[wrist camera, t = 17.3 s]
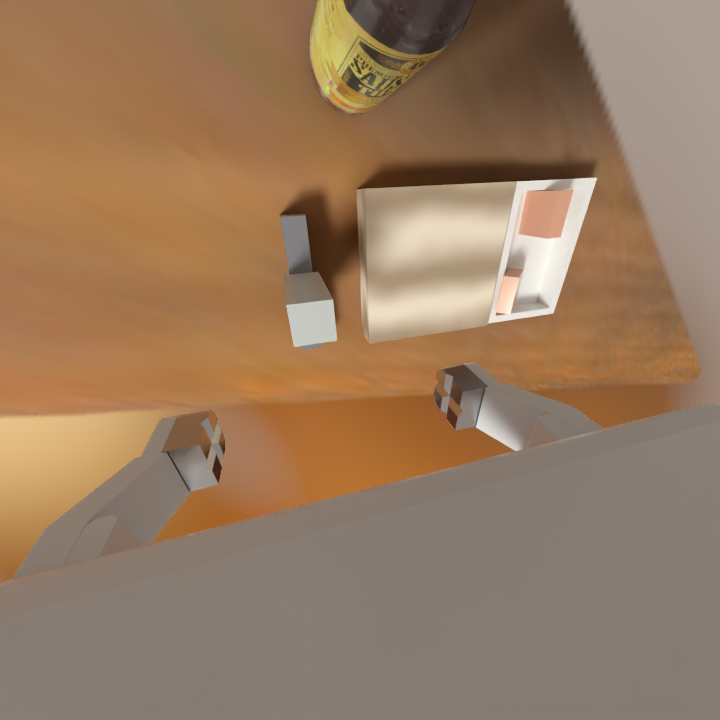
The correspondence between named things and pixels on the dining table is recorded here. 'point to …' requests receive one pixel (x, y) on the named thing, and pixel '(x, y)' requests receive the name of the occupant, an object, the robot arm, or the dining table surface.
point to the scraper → (305, 289)
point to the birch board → (429, 256)
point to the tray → (540, 251)
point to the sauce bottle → (377, 46)
